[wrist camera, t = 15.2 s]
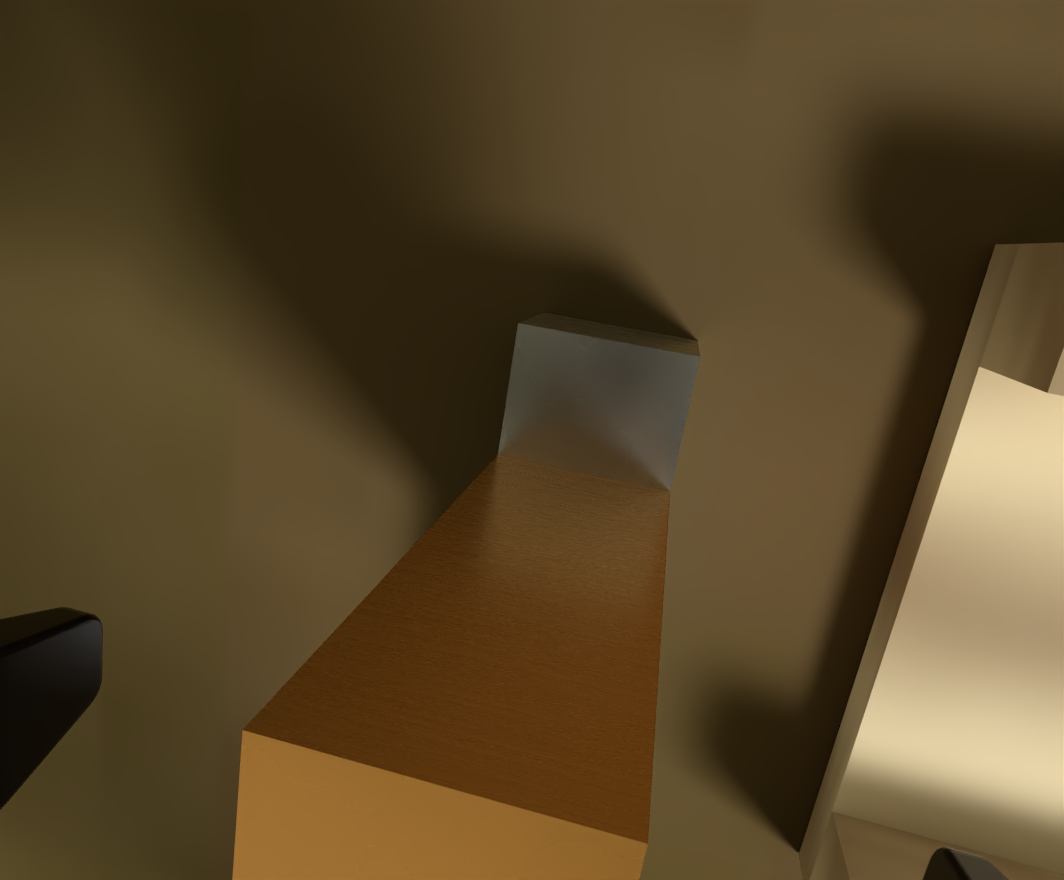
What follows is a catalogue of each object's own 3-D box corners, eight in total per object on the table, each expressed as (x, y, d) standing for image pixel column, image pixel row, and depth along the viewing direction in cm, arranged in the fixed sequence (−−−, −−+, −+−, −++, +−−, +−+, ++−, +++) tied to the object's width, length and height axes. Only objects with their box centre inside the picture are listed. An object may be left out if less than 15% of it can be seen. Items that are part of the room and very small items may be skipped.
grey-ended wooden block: (621, 686, 16) (525, 1343, 7) (488, 653, 17) (209, 1221, 7) (697, 340, 14) (724, 530, 5) (543, 312, 15) (262, 430, 5)
